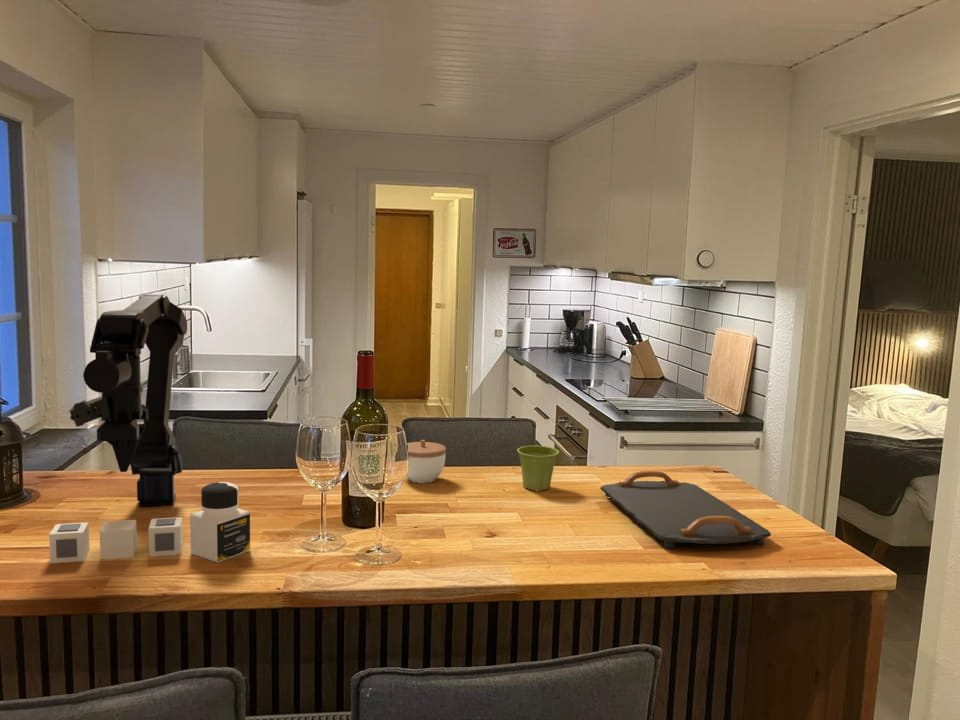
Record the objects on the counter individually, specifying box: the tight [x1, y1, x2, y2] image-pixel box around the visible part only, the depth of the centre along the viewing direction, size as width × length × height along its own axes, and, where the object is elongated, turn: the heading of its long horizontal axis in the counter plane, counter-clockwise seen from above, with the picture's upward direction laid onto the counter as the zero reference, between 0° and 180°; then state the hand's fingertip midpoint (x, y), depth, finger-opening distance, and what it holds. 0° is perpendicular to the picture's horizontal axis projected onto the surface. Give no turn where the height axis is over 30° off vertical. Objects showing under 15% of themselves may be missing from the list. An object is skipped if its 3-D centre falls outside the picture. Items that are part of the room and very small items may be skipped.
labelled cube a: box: [148, 516, 184, 557], centre depth 138 cm, size 5×5×5 cm
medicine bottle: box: [189, 481, 251, 563], centre depth 137 cm, size 7×7×12 cm
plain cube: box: [99, 519, 138, 561], centre depth 136 cm, size 5×5×5 cm
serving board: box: [600, 470, 772, 551], centre depth 164 cm, size 39×23×6 cm, turn 11°
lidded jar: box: [406, 439, 447, 484], centre depth 185 cm, size 11×11×9 cm
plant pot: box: [516, 445, 560, 491], centre depth 182 cm, size 9×9×9 cm
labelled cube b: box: [48, 521, 90, 564], centre depth 133 cm, size 5×5×5 cm
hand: (125, 468), depth 144 cm, fingers open, 4 cm apart
